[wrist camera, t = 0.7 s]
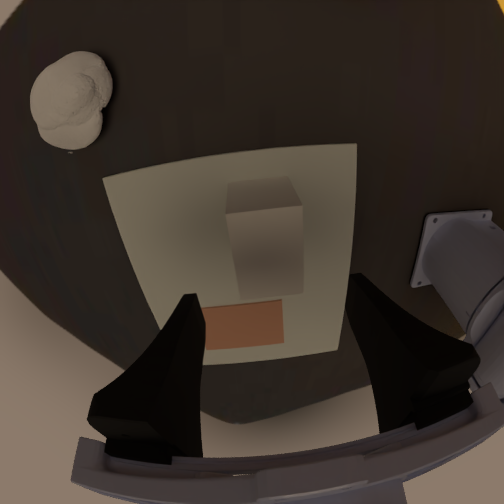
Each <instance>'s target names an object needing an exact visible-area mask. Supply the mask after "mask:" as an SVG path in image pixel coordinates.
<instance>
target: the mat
mask: <svg viewBox="0 0 504 504" xmlns="http://www.w3.org/2000/svg"><path fill="white" fill-rule="evenodd" d="M356 166H357V144H356V143H340V144H316V145H299V146H286V147H275V148H264V149H255V150H246V151H238V152H230V153H223V154H216V155H209V156H203V157H197V158H191V159H185V160H179V161H174V162H169V163H164V164H159V165H154V166H149V167H144V168H140V169H135V170H131V171H127V172H123V173H118V174H114V175H110V176H107V177H104V178H102V179H103V182H104V186H105V189H106V192H107V195H108V199H109V202H110V205H111V208H112V211H113V214H114V217H115V220H116V223H117V226H118V229H119V232H120V234H121V237H122V240H123V243H124V245H125V248H126V251H127V253H128V256H129V259H130V261H131V264H132V266H133V269H134V271H135V274H136V276H137V278H138V281H139V283H140V286H141V288H142V290H143V293H144V295H145V297H146V299H147V302H148V304H149V306H150V308H151V311H152V313H153V315H154V317H155V319H156V321H157V323H158V326H159V328H160V330H161V329H162V328H163V326H164V325H165V323H166V322H167V320H168V319H169V317H170V316H171V314H172V313H173V311H174V309H175V308H176V306H177V304H178V303H179V301H180V299H181V298H182V296H183V295H184V294H191V293H197V297H198V300H199V303H200V306H201V308H203V307H214V306H225V305H235V304H245V303H254V302H263V301H272V300H280V299H282V310H283V330H284V343H280V344H271V345H262V346H253V347H242V348H231V349H217V350H206V347H205V351H204V358H203V365H212V364H228V363H241V362H252V361H262V360H271V359H279V358H287V357H295V356H302V355H309V354H315V353H321V352H327V351H333V350H337V349H338V344H339V338H340V332H341V326H342V320H343V314H344V308H345V301H346V294H347V286H348V278H349V270H350V261H351V251H352V240H353V228H354V214H355V196H356ZM281 176H288V178H289V180H290V182H291V184H292V186H293V188H294V189H295V191H296V193H297V195H298V197H299V199H300V201H301V203H302V205H303V244H304V293H300V294H292V295H284V296H276V297H268V298H259V299H250V300H241V299H240V294H239V289H238V283H237V278H236V272H235V267H234V261H233V255H232V250H231V244H230V238H229V233H228V227H227V221H226V215H225V213H226V202H227V192H228V183H229V182H237V181H245V180H253V179H262V178H271V177H281Z"/></svg>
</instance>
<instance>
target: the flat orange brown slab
mask: <svg viewBox="0 0 504 504" xmlns="http://www.w3.org/2000/svg"><path fill="white" fill-rule="evenodd" d="M201 309H202V312H203V316H204V319H205V322H206V343H205V347H206V350H217V349H231V348H242V347H253V346H262V345H271V344H280V343H284V330H283V310H282V299H280V300H272V301H263V302H254V303H245V304H235V305H225V306H214V307H203V308H201Z"/></svg>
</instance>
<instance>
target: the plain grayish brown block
mask: <svg viewBox="0 0 504 504" xmlns="http://www.w3.org/2000/svg"><path fill="white" fill-rule="evenodd" d="M225 215H226V221H227V227H228V233H229V238H230V244H231V250H232V255H233V261H234V267H235V272H236V278H237V283H238V289H239V294H240V299H241V300H250V299H259V298H268V297H276V296H284V295H292V294H300V293H304V244H303V205H302V203H301V201H300V199H299V197H298V195H297V193H296V191H295V189H294V188H293V186H292V184H291V182H290V180H289V178H288V176H281V177H271V178H262V179H253V180H245V181H237V182H229V183H228V192H227V202H226V213H225Z"/></svg>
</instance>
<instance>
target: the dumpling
mask: <svg viewBox="0 0 504 504" xmlns="http://www.w3.org/2000/svg"><path fill="white" fill-rule="evenodd" d="M112 84H113V82H112V78H111V74H110V72H109V71H108V70H107V67H106V66H105V63H104V61H103V60H102V58H101V57H99V56H98V55H97V54H94V53H91V52H87V51H77V52H73V53H71V54H68V55H66V56H64V57H63V58H61V59H60V60H58V61H57V62H55V63H53V64H51V65H49V66H48V67H46V68H45V70H43V71H42V72H41V73H40V75H39V76H38V77H37V79H36V81H35V83H34V85H33V87H32V90H31V94H30V106H31V112H32V115H33V118H34V120H35V122H36V123H37V125H38V131H39V133H40V135H41V137H42V138H43V139H44V140H45V141H46V142H47V143H49V144H51V145H53V146H55V147H59V148H63V149H71V150H74V149H80V148H85V147H87V146H88V145H90V144H91V143H93V142H94V141H95V139H96V138H97V137H98V136H99V134H100V131H101V128H102V122H103V121H102V118H103V117H102V113H101V110H102V107H106V105H107V103H108V102H109V100H110V98H111V94H112V89H113V85H112ZM69 153H73V152H69Z"/></svg>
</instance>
